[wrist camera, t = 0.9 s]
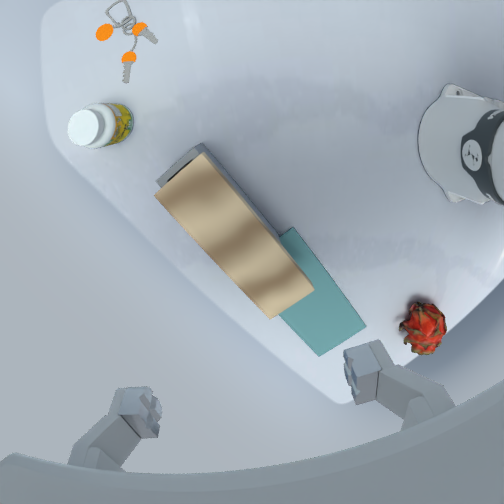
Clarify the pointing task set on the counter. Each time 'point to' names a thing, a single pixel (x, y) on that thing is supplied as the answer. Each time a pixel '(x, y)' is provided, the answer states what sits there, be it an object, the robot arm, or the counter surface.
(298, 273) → the oak lid
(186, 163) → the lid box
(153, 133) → the counter surface
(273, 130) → the counter surface
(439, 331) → the dragon fruit
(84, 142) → the supplement bottle
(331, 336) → the teal mat
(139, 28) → the key chain
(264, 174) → the counter surface
